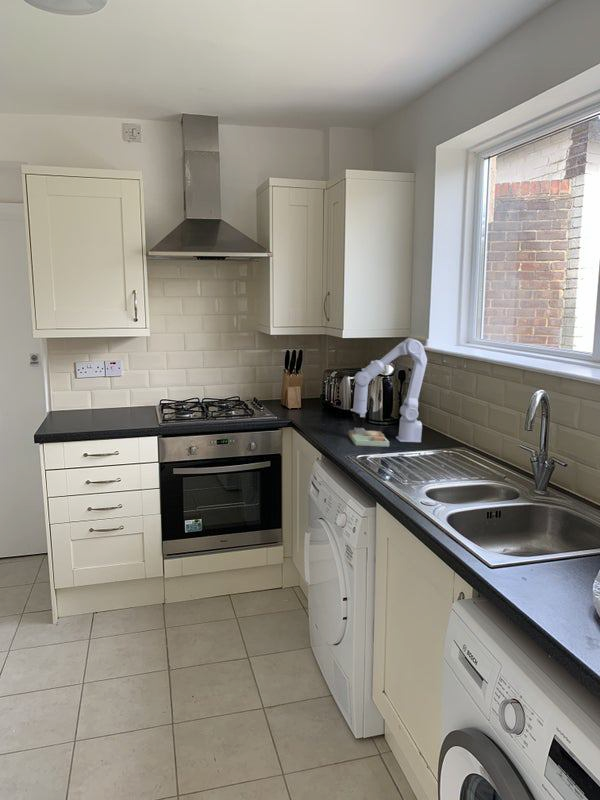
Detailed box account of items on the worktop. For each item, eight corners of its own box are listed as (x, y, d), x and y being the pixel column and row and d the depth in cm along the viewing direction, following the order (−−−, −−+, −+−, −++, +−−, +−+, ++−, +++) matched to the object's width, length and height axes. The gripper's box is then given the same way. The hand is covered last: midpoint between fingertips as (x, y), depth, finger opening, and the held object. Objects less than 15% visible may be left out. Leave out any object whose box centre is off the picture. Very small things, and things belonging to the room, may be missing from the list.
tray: (384, 441, 260) (384, 436, 260) (389, 446, 252) (389, 441, 251) (351, 440, 259) (352, 435, 259) (355, 445, 250) (356, 440, 250)
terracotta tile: (381, 440, 259) (381, 436, 258) (383, 443, 255) (383, 438, 254) (372, 440, 258) (372, 436, 258) (374, 442, 254) (374, 438, 254)
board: (379, 436, 269) (380, 431, 268) (383, 441, 261) (384, 435, 260) (348, 435, 267) (349, 430, 267) (351, 439, 260) (352, 434, 259)
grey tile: (363, 432, 264) (363, 428, 263) (364, 434, 260) (365, 430, 259) (353, 432, 263) (354, 427, 263) (355, 434, 259) (355, 429, 259)
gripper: (348, 396, 269) (346, 426, 271) (354, 402, 254) (351, 433, 257) (364, 396, 269) (362, 426, 272) (370, 402, 255) (368, 434, 257)
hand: (358, 430), depth 264 cm, fingers closed
